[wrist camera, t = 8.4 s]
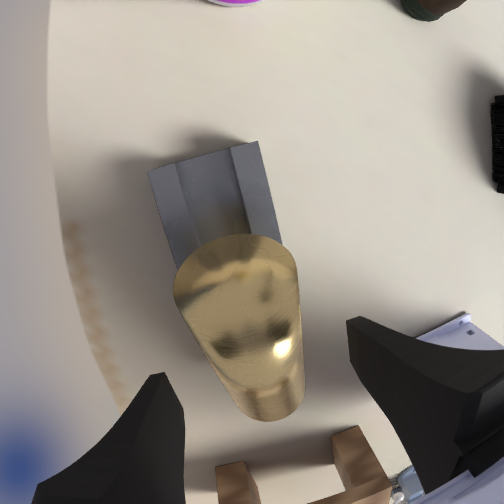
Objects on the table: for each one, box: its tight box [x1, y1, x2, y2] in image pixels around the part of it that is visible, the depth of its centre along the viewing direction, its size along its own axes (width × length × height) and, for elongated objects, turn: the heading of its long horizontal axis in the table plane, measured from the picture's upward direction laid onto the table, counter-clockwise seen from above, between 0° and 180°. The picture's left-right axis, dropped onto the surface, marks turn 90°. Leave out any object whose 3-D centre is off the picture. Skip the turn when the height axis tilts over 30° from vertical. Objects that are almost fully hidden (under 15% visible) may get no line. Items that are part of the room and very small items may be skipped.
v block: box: [147, 141, 282, 270], centre depth 19 cm, size 6×11×3 cm, turn 14°
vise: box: [391, 465, 425, 504], centre depth 32 cm, size 18×10×7 cm, turn 95°
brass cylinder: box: [173, 234, 305, 422], centre depth 17 cm, size 5×12×5 cm, turn 14°
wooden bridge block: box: [215, 425, 392, 504], centre depth 24 cm, size 15×6×8 cm, turn 104°
